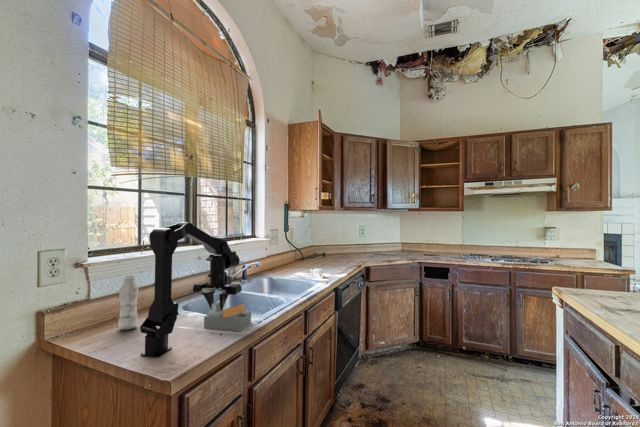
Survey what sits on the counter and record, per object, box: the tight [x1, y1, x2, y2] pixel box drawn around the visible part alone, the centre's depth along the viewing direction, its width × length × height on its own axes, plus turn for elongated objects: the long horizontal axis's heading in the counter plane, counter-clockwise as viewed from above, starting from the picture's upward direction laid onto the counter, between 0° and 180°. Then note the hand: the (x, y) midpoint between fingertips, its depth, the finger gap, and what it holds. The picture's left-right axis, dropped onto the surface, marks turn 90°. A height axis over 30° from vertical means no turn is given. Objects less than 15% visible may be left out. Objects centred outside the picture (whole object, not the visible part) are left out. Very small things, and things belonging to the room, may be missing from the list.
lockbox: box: [203, 310, 252, 333], centre depth 118 cm, size 10×15×5 cm, turn 79°
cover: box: [207, 300, 229, 316], centre depth 119 cm, size 7×5×4 cm
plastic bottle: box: [117, 275, 140, 331], centre depth 112 cm, size 6×7×20 cm
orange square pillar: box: [223, 304, 246, 318], centre depth 114 cm, size 2×9×4 cm, turn 143°
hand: (216, 309), depth 119 cm, fingers open, 4 cm apart
